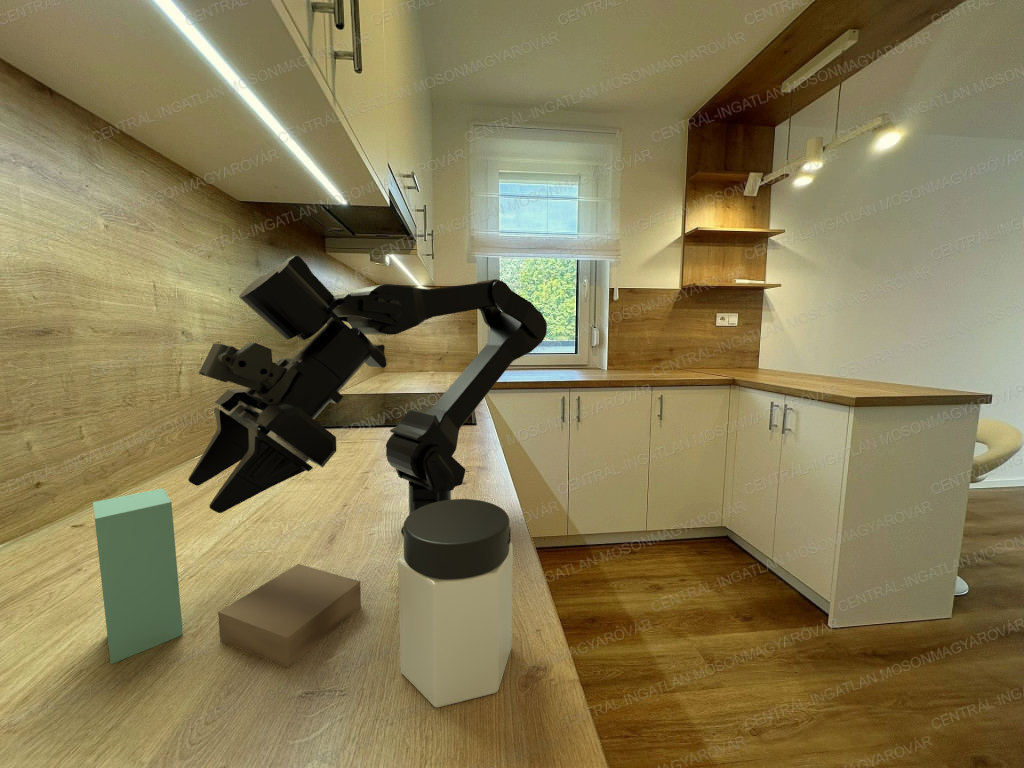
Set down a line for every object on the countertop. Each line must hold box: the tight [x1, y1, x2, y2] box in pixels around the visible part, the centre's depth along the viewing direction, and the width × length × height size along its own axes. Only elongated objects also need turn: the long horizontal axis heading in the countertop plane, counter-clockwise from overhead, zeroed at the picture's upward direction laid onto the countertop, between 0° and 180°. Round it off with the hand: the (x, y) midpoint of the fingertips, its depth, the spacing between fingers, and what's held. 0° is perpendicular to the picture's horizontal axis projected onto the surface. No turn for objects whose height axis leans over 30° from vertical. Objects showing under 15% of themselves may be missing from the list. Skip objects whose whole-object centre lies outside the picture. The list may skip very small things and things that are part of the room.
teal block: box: [92, 487, 184, 665], centre depth 35 cm, size 4×4×12 cm
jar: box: [397, 498, 514, 708], centre depth 32 cm, size 9×8×12 cm
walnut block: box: [217, 563, 362, 669], centre depth 37 cm, size 8×8×3 cm
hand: (202, 495), depth 38 cm, fingers open, 9 cm apart
